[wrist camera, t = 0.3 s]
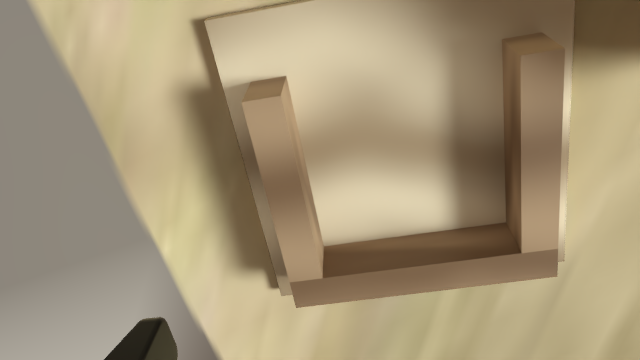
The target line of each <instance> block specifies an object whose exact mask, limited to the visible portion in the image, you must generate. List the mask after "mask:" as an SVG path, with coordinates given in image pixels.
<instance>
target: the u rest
mask: <svg viewBox="0 0 640 360" xmlns="http://www.w3.org/2000/svg"><path fill="white" fill-rule="evenodd" d="M574 15H575V0H300V1H295V2H289V3H284V4H279V5H273V6H268V7H263V8H257V9H252V10H247V11H241V12H236V13H231V14H225V15H220V16H215V17H209V18H207V19H206V20H205V21H204V22H205V26H206V29H207V33H208V37H209V40H210V44H211V47H212V51H213V54H214V58H215V61H216V65H217V69H218V72H219V76H220V79H221V83H222V86H223V90H224V93H225V97H226V101H227V104H228V108H229V111H230V115H231V118H232V122H233V125H234V129H235V133H236V136H237V140H238V143H239V147H240V150H241V154H242V158H243V161H244V165H245V168H246V172H247V175H248V179H249V182H250V186H251V190H252V193H253V197H254V200H255V204H256V207H257V211H258V214H259V218H260V222H261V225H262V229H263V232H264V236H265V239H266V243H267V246H268V250H269V254H270V257H271V261H272V264H273V268H274V271H275V275H276V278H277V282H278V286H279V289H280V293H281V296H285V295H293V297H294V301H295V305H296V308H299V307H307V306H315V305H324V304H332V303H340V302H349V301H357V300H365V299H374V298H382V297H390V296H399V295H407V294H415V293H424V292H432V291H441V290H449V289H457V288H466V287H474V286H482V285H491V284H499V283H507V282H516V281H524V280H532V279H541V278H549V277H557V268H558V262H562V261H564V255H565V231H566V207H567V183H568V159H569V135H570V111H571V87H572V63H573V39H574Z"/></svg>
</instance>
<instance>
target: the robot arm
mask: <svg viewBox="0 0 640 360" xmlns="http://www.w3.org/2000/svg"><path fill="white" fill-rule="evenodd" d="M177 357H178V353H177V346H176V343H175V340H174V338H173V336H172V333H171V331H170V329H169V326H168V324H167V322H166V320H165V319H164V318H161V317H159V318H146V319H143V320H141V321H139V322H138V323H137V324H136V326H135V327H134V328H133V329H132V330H131V331H130V332H129V333H128V334H127V335H126V336H125V337H124V338H123V340H122V341H121V342H120V343H119V344H118V345H117V346H116V347H115V348H114V350H112V352H111V353H110V354H109V355H108V356H107V357H106V358H105V359H104V360H177Z"/></svg>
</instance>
